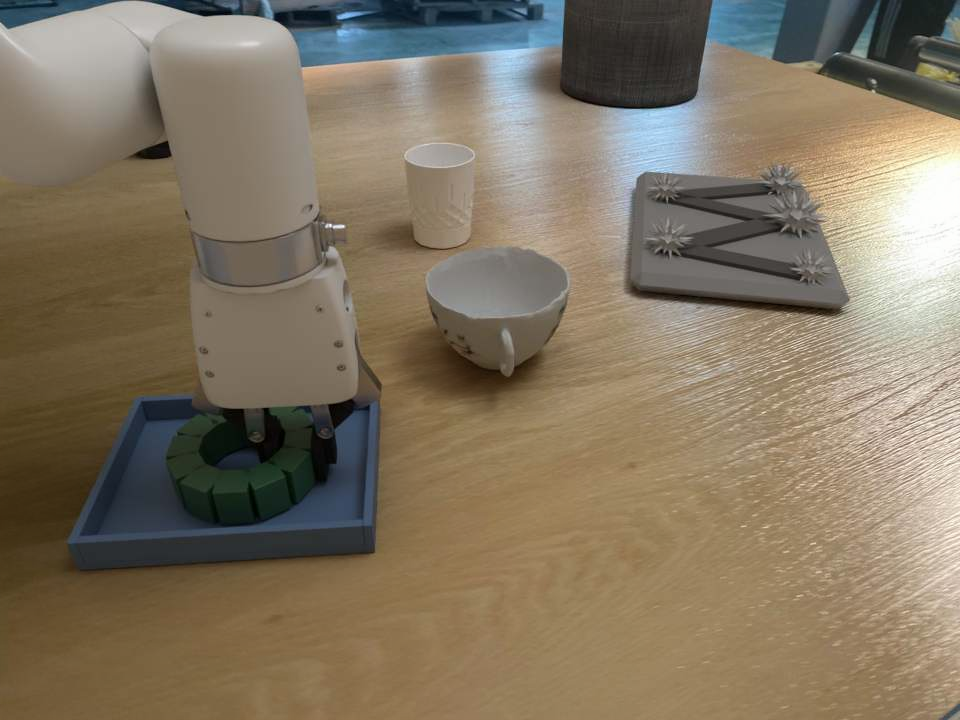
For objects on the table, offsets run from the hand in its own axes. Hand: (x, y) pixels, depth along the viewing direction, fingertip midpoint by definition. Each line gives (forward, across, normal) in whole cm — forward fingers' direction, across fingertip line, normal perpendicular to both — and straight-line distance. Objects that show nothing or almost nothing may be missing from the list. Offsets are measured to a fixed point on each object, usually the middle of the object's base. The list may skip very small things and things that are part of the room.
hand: (301, 468), depth 56 cm
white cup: (+1, -12, -40) cm, 42 cm away
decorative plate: (+1, -45, -36) cm, 58 cm away
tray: (+1, +4, 0) cm, 4 cm away
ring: (0, +4, 0) cm, 4 cm away
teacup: (+1, -16, -14) cm, 21 cm away
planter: (+1, -49, -100) cm, 111 cm away
